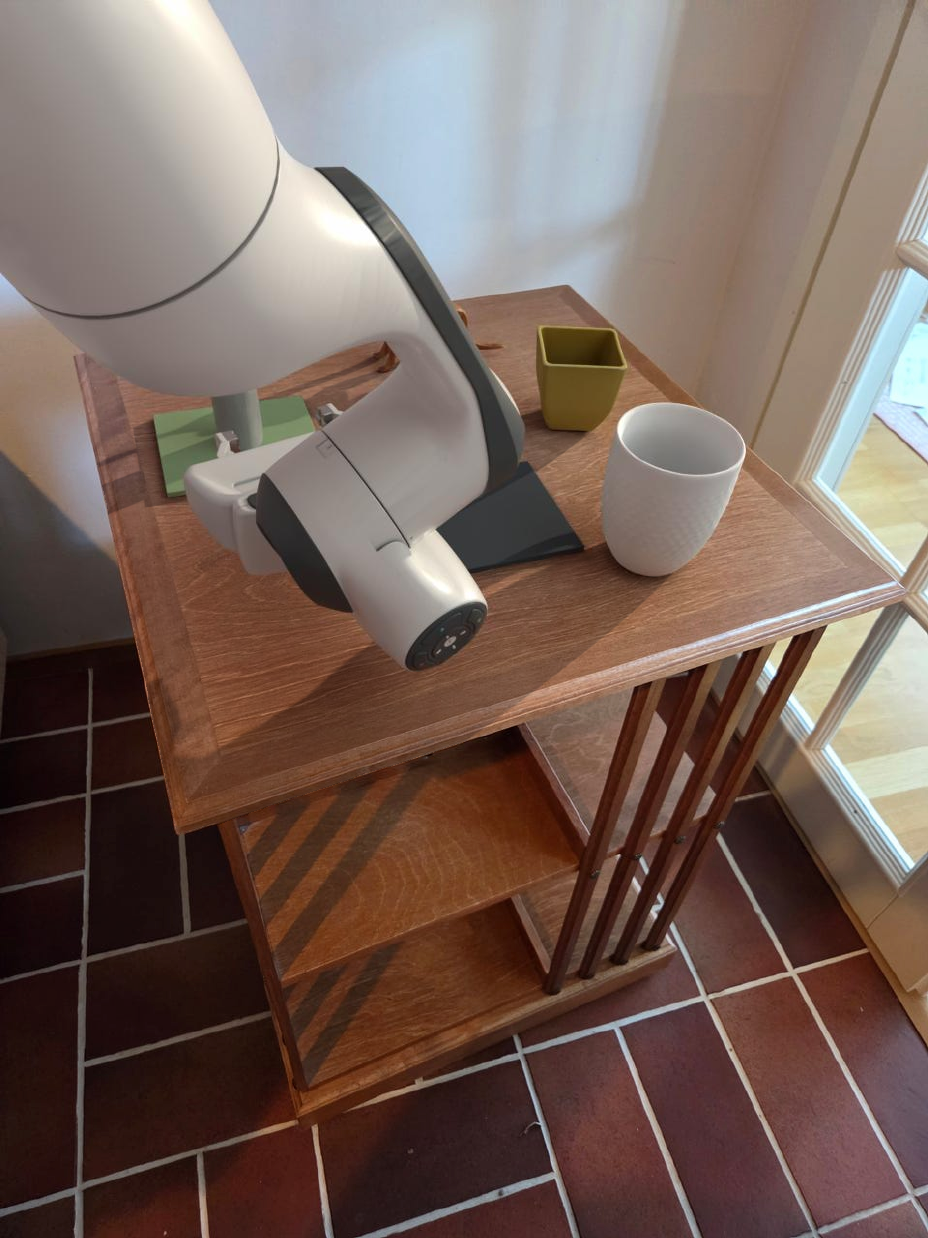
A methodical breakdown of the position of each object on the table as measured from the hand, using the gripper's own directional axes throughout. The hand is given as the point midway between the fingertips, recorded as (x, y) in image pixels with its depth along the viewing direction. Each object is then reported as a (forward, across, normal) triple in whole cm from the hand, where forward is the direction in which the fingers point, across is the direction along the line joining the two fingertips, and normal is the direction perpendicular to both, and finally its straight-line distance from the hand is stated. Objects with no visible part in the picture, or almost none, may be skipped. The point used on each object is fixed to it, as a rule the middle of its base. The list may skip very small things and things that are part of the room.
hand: (274, 424), depth 74 cm
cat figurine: (+18, -27, +9) cm, 34 cm away
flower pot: (-1, -34, +9) cm, 36 cm away
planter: (+11, 0, +9) cm, 14 cm away
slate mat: (-11, -16, +9) cm, 21 cm away
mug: (-22, -28, +9) cm, 36 cm away
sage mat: (+11, 0, +9) cm, 15 cm away
